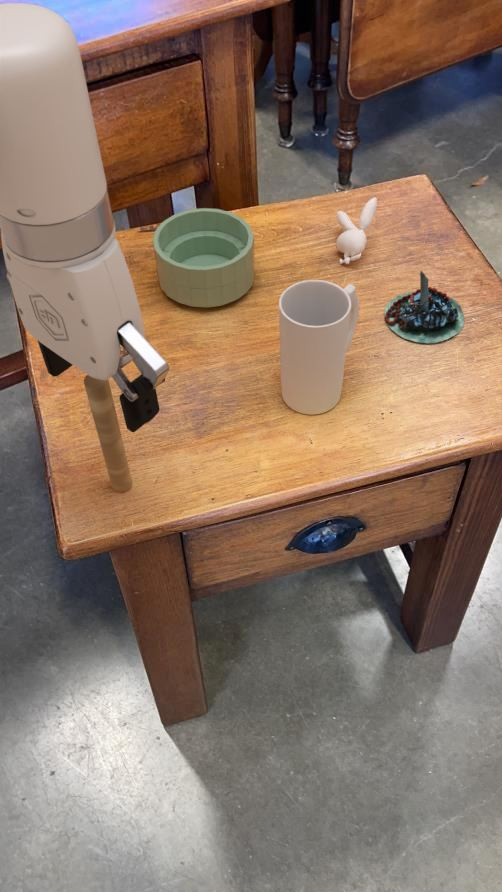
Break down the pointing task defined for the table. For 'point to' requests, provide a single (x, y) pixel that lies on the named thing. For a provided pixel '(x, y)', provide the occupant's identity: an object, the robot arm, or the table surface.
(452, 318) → the dish
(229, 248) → the bowl
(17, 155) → the robot arm
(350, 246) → the rabbit figurine
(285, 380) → the mug
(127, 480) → the stick
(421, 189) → the table surface
